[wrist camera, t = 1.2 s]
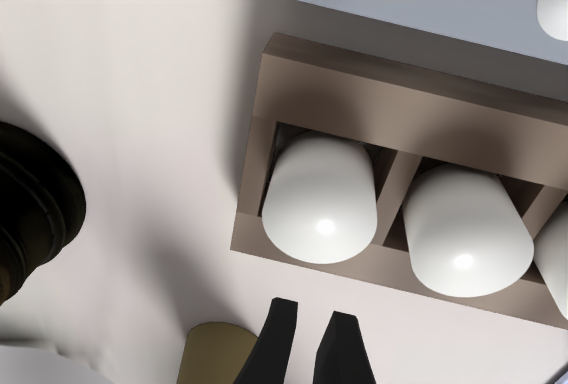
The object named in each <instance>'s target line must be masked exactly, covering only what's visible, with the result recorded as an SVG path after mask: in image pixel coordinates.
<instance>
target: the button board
mask: <svg viewBox="0 0 568 384" xmlns="http://www.w3.org/2000/svg"><path fill="white" fill-rule="evenodd" d="M280 122H283V123H287V124H291V125H295V126H299V127H304V128H308V129H312V130H316V131H320V132H325V133H329V134H333V135H337V136H341V137H346V138H350V139H354V140H358V141H362V142H366V143H371V144H375V145H379V146H382V147H381V150H380V152H379V155H378V158H377V160H376V163H375V165H374V168H373V175H374V187H375V199H376V211H377V228H376V232H375V235H374V237H373V239H372V240H371V242H370V243H369V244H368V246H367V247H366V248H365V249H364V250H363V251H361V252H360V253H359V254H357V255H355V256H354V257H352V258H349V259H347V260H344V261H341V262H336V263H329V264H317V263H309V262H305V261H301V260H298V259H296V258H293V257H291V256H289V255H287V254H286V253H284V252H283V251H281V250H280V249H279V248H278V247H276V246H275V245H274V243H273V242H272V241H271V240H270V238H269V237H268V235H267V234H266V232H265V229H264V226H263V222H262V210H263V206H264V202H265V199H266V196H267V192H268V189H269V185H270V182H268V177H269V172H270V168H271V163H272V158H273V153H274V148H275V144H276V139H277V134H278V129H279V124H280ZM423 156H425V157H429V158H434V159H438V160H442V161H446V162H450V163H455V164H459V165H463V166H467V167H471V168H476V169H480V170H484V171H488V172H492V173H496V174H501V175H504V176H503V178H502V179H501V183H502V185H503V186H504V188H505V190H506V192H507V194H508V196H509V197H510V199H511V201H512V203H513V205H514V207H515V208H516V210H517V212H518V214H519V216H520V218H521V219H522V221H523V223H524V225H525V227H526V229H527V230H528V232H529V234H530V236H531V238H532V241H533V239H534V238H535V236H536V235H537V234H538V232H539V231H540V230H541V228H542V227H543V226H544V224H545V223H546V222H547V220H548V219H549V218H550V216H551V215H552V213H553V212H554V211H555V209H556V208H557V207H558V205H559V204H560V203H561V201H562V200H563V199H564V197H565V196H566V195H567V193H568V103H567V102H563V101H559V100H554V99H550V98H546V97H542V96H538V95H534V94H529V93H525V92H521V91H517V90H513V89H509V88H504V87H500V86H496V85H492V84H488V83H483V82H479V81H475V80H471V79H467V78H463V77H458V76H454V75H450V74H446V73H442V72H437V71H433V70H429V69H425V68H421V67H417V66H412V65H408V64H404V63H400V62H396V61H391V60H387V59H383V58H379V57H375V56H371V55H366V54H362V53H358V52H354V51H350V50H345V49H341V48H337V47H333V46H329V45H325V44H320V43H316V42H312V41H308V40H304V39H299V38H295V37H291V36H287V35H283V34H279V33H274V34H273V36H272V37H271V39H270V41H269V42H268V44H267V46H266V47H265V49H264V51H263V52H262V56H261V62H260V68H259V74H258V81H257V87H256V93H255V99H254V105H253V111H252V118H251V124H250V130H249V136H248V142H247V148H246V155H245V161H244V167H243V173H242V179H241V185H240V192H239V198H238V204H237V210H236V216H235V222H234V229H233V235H232V241H231V247H230V250H233V251H238V252H242V253H246V254H250V255H254V256H259V257H263V258H267V259H271V260H276V261H280V262H284V263H288V264H292V265H297V266H301V267H305V268H309V269H313V270H318V271H322V272H326V273H330V274H335V275H339V276H343V277H347V278H351V279H356V280H360V281H364V282H368V283H373V284H377V285H381V286H385V287H389V288H394V289H398V290H402V291H406V292H410V293H415V294H419V295H423V296H427V297H432V298H436V299H440V300H444V301H448V302H453V303H457V304H461V305H465V306H469V307H474V308H478V309H482V310H486V311H491V312H495V313H499V314H503V315H507V316H512V317H516V318H520V319H524V320H528V321H533V322H537V323H541V324H545V325H550V326H554V327H558V328H562V329H566V330H568V320H567V319H566V318H565V317H564V316H563V315H562V313H561V312H560V310H559V308H558V306H557V304H556V302H555V300H554V298H553V297H552V295H551V293H550V291H549V289H548V287H547V285H546V283H545V281H544V279H543V277H542V275H541V273H540V271H539V269H538V267H537V266H536V264H535V262H534V260H533V259H532V262H531V264H530V266H529V268H528V269H527V271H526V272H525V273H524V274H523V275H522V276H521V277H520V278H519V279H518V280H517V281H515V282H514V283H513V284H511V285H510V286H508V287H506V288H504V289H502V290H500V291H497V292H494V293H491V294H487V295H483V296H477V297H453V296H448V295H444V294H441V293H438V292H435V291H433V290H431V289H430V288H428V287H426V286H425V285H424V284H423V283H422V282H420V281H419V279H418V278H417V277H416V275H415V273H414V272H413V269H412V265H411V259H410V253H409V247H408V241H407V236H406V230H405V224H404V218H403V214H401V213H397V212H398V210H399V208H400V205H401V203H402V201H403V199H404V197H405V194H406V192H407V190H408V188H409V186H410V183H411V181H412V179H413V177H414V175H415V172H416V170H417V168H418V166H419V164H420V161H421V159H422V157H423Z"/></svg>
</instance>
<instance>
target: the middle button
mask: <svg viewBox="0 0 568 384" xmlns="http://www.w3.org/2000/svg"><path fill="white" fill-rule="evenodd" d="M402 212H403V218H404V224H405V230H406V236H407V241H408V247H409V253H410V259H411V265H412V269H413V272H414V273H415V275H416V277H417V278H418V279H419V281H420V282H422V283H423V284H424V285H425V286H426V287H428V288H430V289H431V290H433V291H435V292H438V293H441V294H444V295H448V296H453V297H477V296H483V295H487V294H491V293H494V292H497V291H500V290H502V289H504V288H506V287H508V286H510V285H511V284H513V283H514V282H515V281H517V280H518V279H519V278H520V277H521V276H522V275H523V274H524V273H525V272H526V271H527V269H528V268H529V266H530V264H531V262H532V259H533V255H534V244H533V241H532V238H531V236H530V234H529V232H528V230H527V229H526V227H525V225H524V223H523V221H522V219H521V218H520V216H519V214H518V212H517V210H516V208H515V207H514V205H513V203H512V201H511V199H510V197H509V196H508V194H507V192H506V190H505V188H504V186H503V185H502V183H501V181H500V180H499V178H498V177H497V176H496V175H495V174H494V173H492V172H488V171H484V170H480V169H476V168H471V167H467V166H463V165H459V164H455V163H448V164H444V165H440V166H437V167H434V168H432V169H430V170H428V171H426V172H424V173H423V174H421V175H420V176H419V177H417V178H416V179H415V180H414V181H413V182H412V183H411V185H410V186H409V188H408V190H407V192H406V194H405V197H404V199H403V202H402Z"/></svg>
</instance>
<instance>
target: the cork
mask: <svg viewBox="0 0 568 384" xmlns="http://www.w3.org/2000/svg"><path fill="white" fill-rule="evenodd" d="M257 339H258V337H256V336H255V335H254V334H252V333H251V332H250V331H248V330H246V329H244V328H241V327H239V326H237V325H233V324H228V323H224V322H209V323H204V324H200V325H198V326H196V327H195V328H193V329H192V330H191V331H190V332H189V334H188V335H187V339H186V343H185V348H184V352H183V357H182V361H181V366H180V370H179V375H178V379H177V384H233V382H234V381H235V379H236V377H237V376H238V374H239V372H240V371H241V369H242V367H243V366H244V364H245V362H246V360H247V358H248V356H249V355H250V353H251V351H252V349H253V347H254V345H255V343H256V341H257Z"/></svg>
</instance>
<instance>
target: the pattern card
mask: <svg viewBox="0 0 568 384" xmlns="http://www.w3.org/2000/svg"><path fill="white" fill-rule="evenodd" d="M298 1H302V2H306V3H310V4H315V5H319V6H323V7H327V8H331V9H335V10H340V11H344V12H348V13H352V14H356V15H360V16H365V17H369V18H373V19H377V20H381V21H386V22H390V23H394V24H398V25H402V26H406V27H411V28H415V29H419V30H423V31H427V32H431V33H436V34H440V35H444V36H448V37H452V38H456V39H461V40H465V41H469V42H473V43H477V44H482V45H486V46H490V47H494V48H498V49H502V50H507V51H511V52H515V53H519V54H523V55H527V56H532V57H536V58H540V59H544V60H548V61H553V62H557V63H561V64H565V65H568V0H298Z"/></svg>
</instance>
